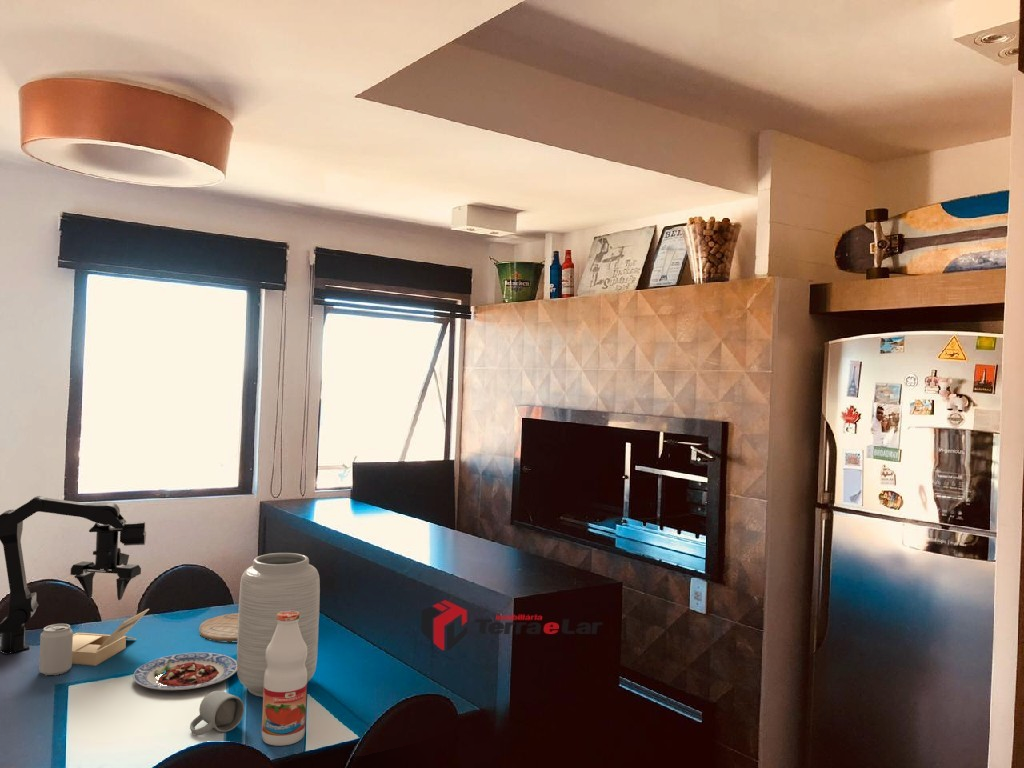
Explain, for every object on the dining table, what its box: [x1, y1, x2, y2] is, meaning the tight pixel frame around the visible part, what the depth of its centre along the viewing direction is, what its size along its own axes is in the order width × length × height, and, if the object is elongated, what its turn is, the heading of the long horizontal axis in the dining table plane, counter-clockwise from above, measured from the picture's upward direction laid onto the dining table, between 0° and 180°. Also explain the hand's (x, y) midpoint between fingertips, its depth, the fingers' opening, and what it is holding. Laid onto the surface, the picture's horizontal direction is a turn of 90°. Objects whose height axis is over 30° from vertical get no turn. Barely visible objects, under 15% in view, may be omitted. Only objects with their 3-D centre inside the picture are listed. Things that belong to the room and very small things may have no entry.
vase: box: [236, 552, 321, 698], centre depth 202 cm, size 20×20×34 cm
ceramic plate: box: [132, 652, 237, 691], centre depth 206 cm, size 26×26×3 cm
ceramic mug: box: [189, 690, 245, 736], centre depth 177 cm, size 11×8×8 cm
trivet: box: [198, 612, 239, 643], centre depth 245 cm, size 25×25×2 cm
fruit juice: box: [261, 610, 308, 747], centre depth 174 cm, size 9×9×28 cm
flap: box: [97, 608, 150, 650], centre depth 217 cm, size 1×12×11 cm
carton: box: [72, 632, 137, 667], centre depth 222 cm, size 15×21×4 cm
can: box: [38, 623, 74, 676], centre depth 206 cm, size 8×8×12 cm
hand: (104, 598), depth 228 cm, fingers open, 9 cm apart
